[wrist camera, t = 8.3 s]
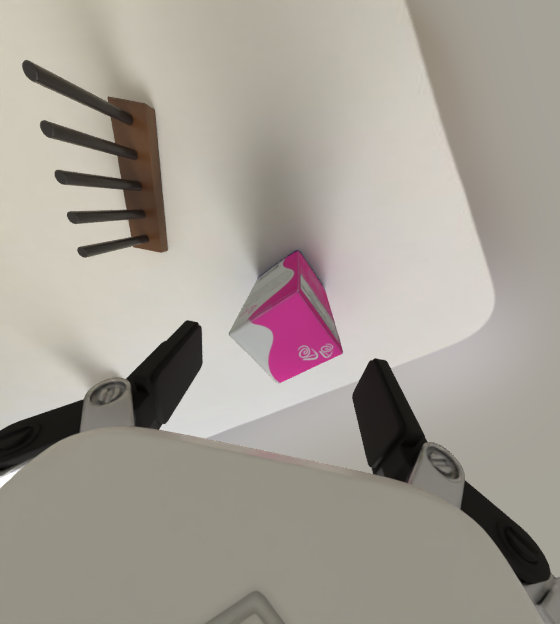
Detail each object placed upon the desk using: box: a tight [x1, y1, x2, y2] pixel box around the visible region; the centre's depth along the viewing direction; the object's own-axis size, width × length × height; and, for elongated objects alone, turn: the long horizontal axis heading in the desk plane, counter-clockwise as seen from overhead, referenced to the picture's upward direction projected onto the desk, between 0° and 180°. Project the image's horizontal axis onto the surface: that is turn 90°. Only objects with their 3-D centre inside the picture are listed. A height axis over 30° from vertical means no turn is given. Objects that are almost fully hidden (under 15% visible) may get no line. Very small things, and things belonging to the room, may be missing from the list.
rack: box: [22, 60, 168, 258], centre depth 17 cm, size 12×3×8 cm, turn 170°
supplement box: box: [229, 250, 343, 384], centre depth 18 cm, size 6×6×12 cm
